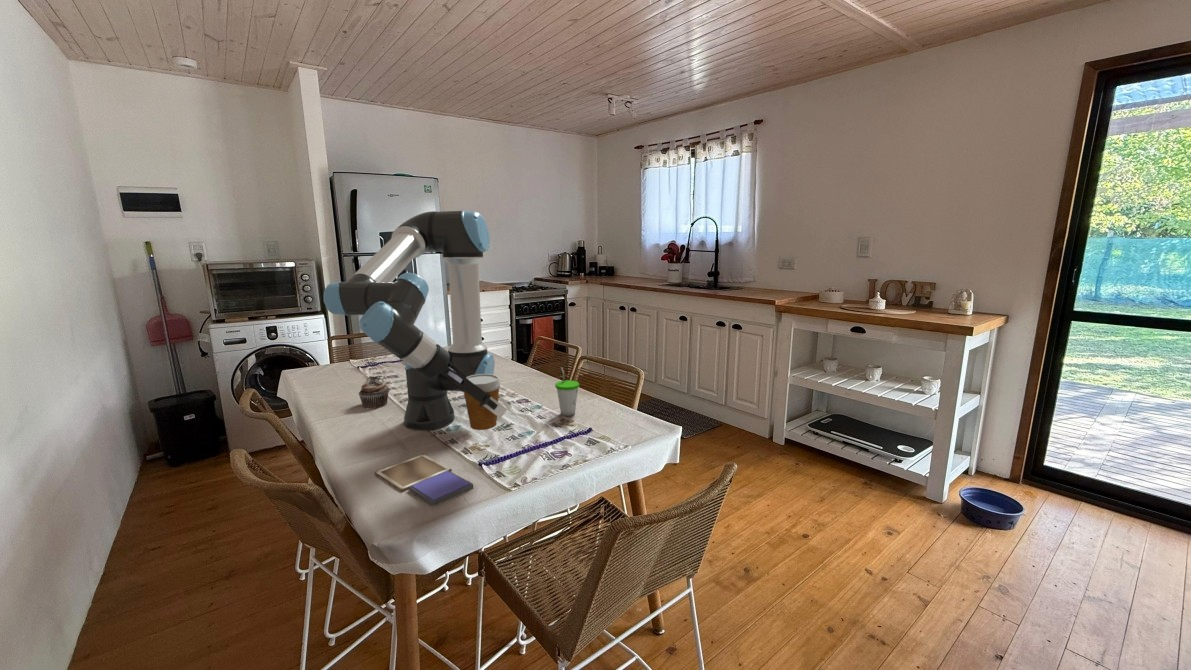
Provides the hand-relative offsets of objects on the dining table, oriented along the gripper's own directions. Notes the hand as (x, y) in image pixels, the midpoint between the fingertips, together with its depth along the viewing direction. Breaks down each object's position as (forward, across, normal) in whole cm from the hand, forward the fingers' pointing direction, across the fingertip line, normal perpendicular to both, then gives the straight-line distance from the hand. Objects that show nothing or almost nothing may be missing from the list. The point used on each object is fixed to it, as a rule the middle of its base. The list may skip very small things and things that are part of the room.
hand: (494, 407), depth 122 cm
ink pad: (0, +3, -22) cm, 22 cm away
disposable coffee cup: (+1, 0, -5) cm, 5 cm away
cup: (+36, -19, +13) cm, 43 cm away
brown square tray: (-2, -9, -24) cm, 26 cm away
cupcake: (+2, -68, -21) cm, 71 cm away
